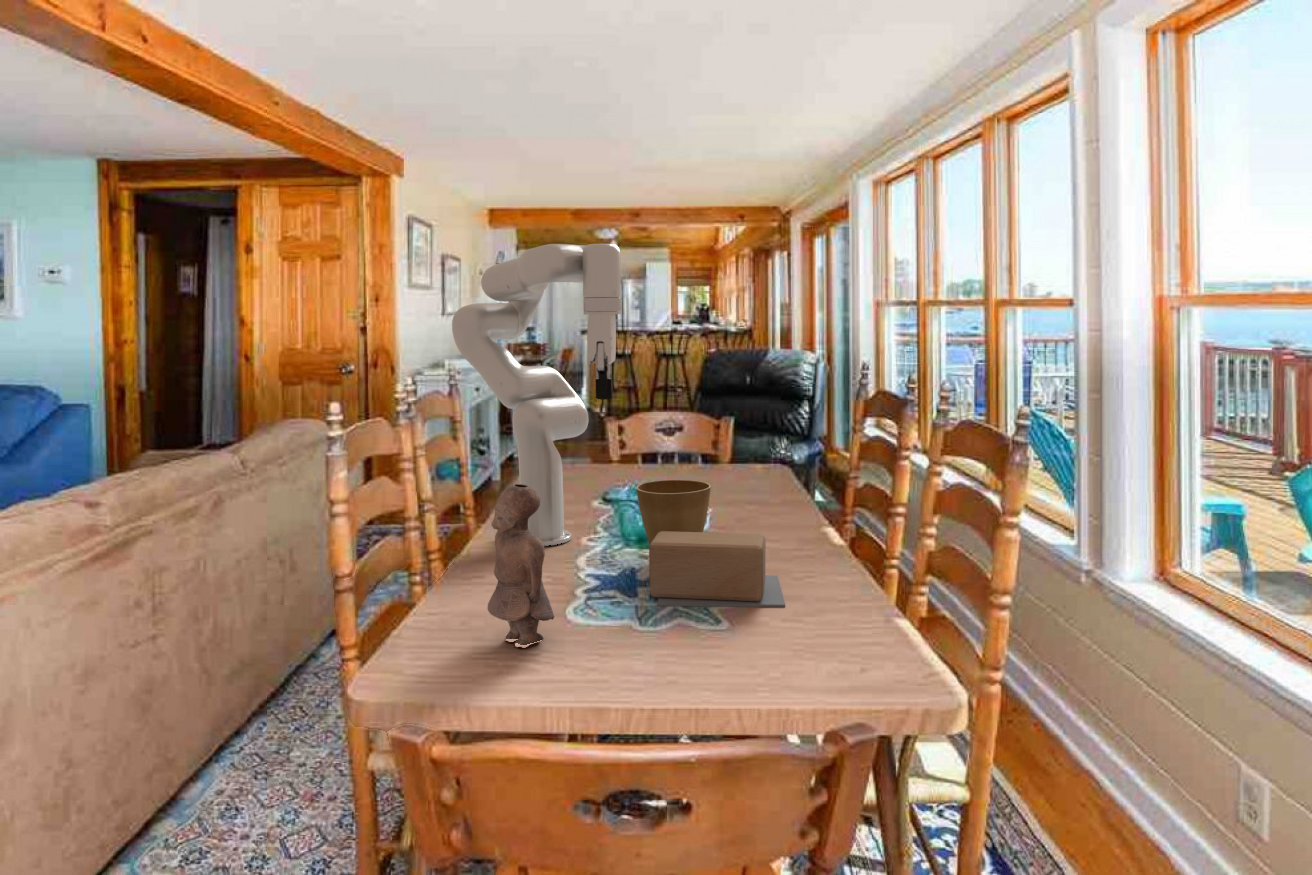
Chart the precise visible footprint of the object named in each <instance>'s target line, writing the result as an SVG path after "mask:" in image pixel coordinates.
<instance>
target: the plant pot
mask: <svg viewBox="0 0 1312 875" xmlns="http://www.w3.org/2000/svg"><path fill="white" fill-rule="evenodd" d="M635 489H636V496H637V499H638V501H637V502H638V505H639V506H638V507H639V510H640V511H639V512H640V515H641V520H642V523H643V527H644V531H645V535H646V538H647V541H648V544H649V545H650V544H651V543H652V541H653V540H654V538H655V537H656V535H657V534H658V532H661V531H673V532H704V530H705V525H706V521H707V516H708V510H709V504H710V498H711V489H712V486H711V484H710V483H708V482H705V481H700V480H694V479H693V480H692V479H661V480H653V481H648V482H646V481H645V482H643V483H640V484H637V486H636V488H635Z"/></svg>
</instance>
